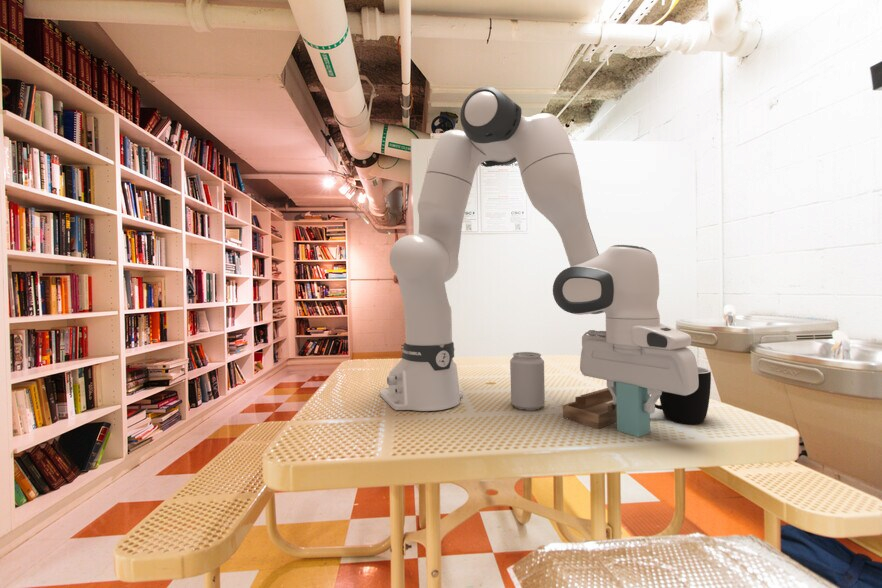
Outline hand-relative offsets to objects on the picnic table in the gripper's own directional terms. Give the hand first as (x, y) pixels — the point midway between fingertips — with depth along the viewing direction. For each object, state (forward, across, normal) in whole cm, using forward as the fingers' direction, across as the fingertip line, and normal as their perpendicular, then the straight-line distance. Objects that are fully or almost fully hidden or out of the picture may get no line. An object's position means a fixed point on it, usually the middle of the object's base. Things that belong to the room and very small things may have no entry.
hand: (633, 408), depth 68 cm
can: (+4, -22, -4) cm, 23 cm away
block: (+4, 0, 0) cm, 4 cm away
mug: (+4, +2, +13) cm, 14 cm away
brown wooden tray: (+4, -8, +5) cm, 11 cm away
